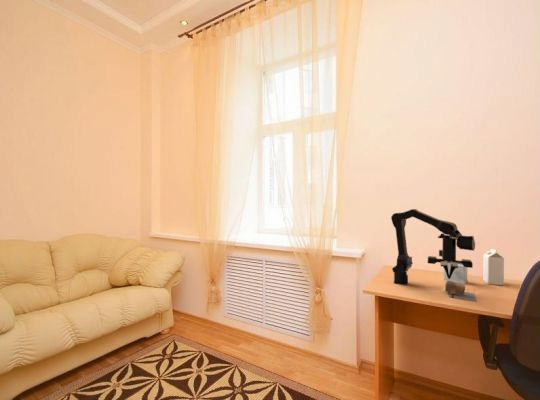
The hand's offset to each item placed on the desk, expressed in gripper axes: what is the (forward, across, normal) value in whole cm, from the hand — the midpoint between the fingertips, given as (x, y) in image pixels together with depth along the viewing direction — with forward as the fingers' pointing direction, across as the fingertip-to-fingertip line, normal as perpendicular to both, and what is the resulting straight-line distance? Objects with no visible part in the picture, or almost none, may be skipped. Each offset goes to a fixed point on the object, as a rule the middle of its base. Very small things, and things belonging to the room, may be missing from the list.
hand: (449, 278), depth 139 cm
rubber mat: (+8, -6, 0) cm, 10 cm away
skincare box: (+8, -4, -26) cm, 27 cm away
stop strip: (+8, 0, 0) cm, 8 cm away
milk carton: (+8, -22, -32) cm, 40 cm away
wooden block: (+4, +2, 0) cm, 4 cm away
